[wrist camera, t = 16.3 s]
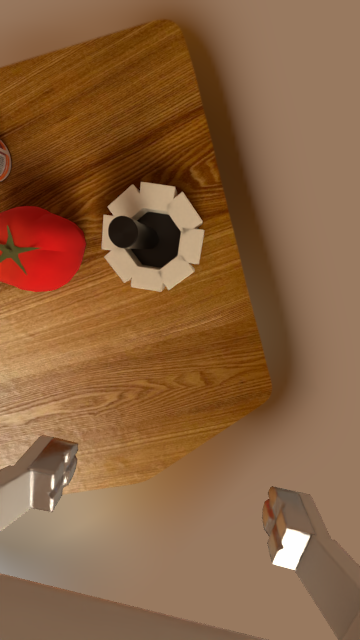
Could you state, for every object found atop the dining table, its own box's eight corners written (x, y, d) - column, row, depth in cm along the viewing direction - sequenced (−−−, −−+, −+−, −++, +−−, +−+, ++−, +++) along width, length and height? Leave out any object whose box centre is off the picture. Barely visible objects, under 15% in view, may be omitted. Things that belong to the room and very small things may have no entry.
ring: (210, 196, 33) (210, 191, 30) (193, 293, 37) (193, 297, 34) (113, 182, 34) (105, 176, 31) (107, 279, 37) (99, 281, 35)
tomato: (110, 265, 38) (79, 270, 28) (45, 299, 40) (-5, 314, 31) (72, 194, 36) (23, 173, 26) (6, 235, 38) (-62, 229, 28)
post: (188, 208, 35) (181, 183, 22) (177, 278, 38) (165, 291, 25) (120, 196, 35) (75, 166, 23) (114, 266, 38) (71, 274, 25)
